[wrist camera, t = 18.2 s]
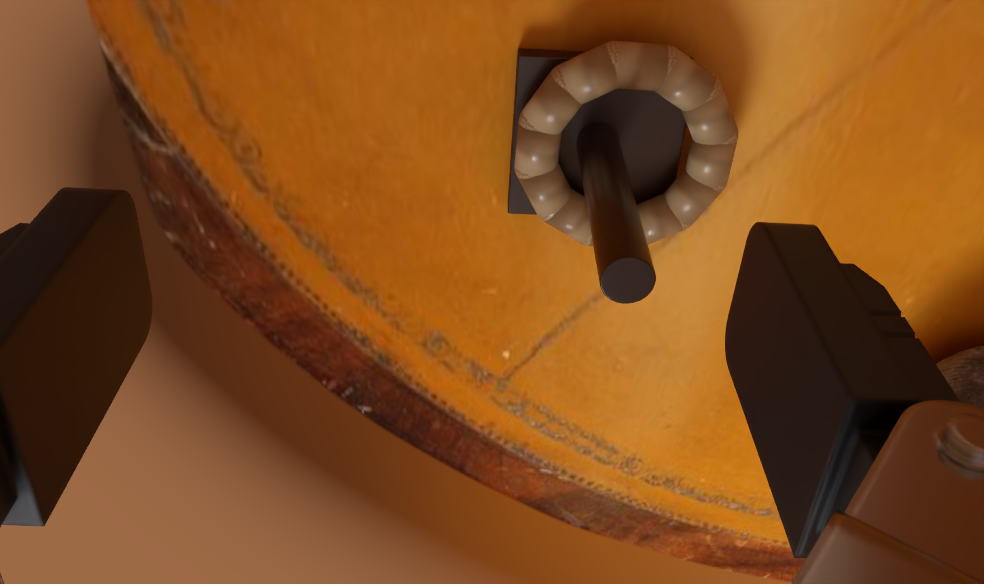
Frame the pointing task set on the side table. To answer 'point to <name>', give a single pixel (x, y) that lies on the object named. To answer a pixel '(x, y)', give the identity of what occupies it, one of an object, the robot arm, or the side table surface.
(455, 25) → the side table surface
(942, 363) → the fossil
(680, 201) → the ring
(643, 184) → the peg stand
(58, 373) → the robot arm
